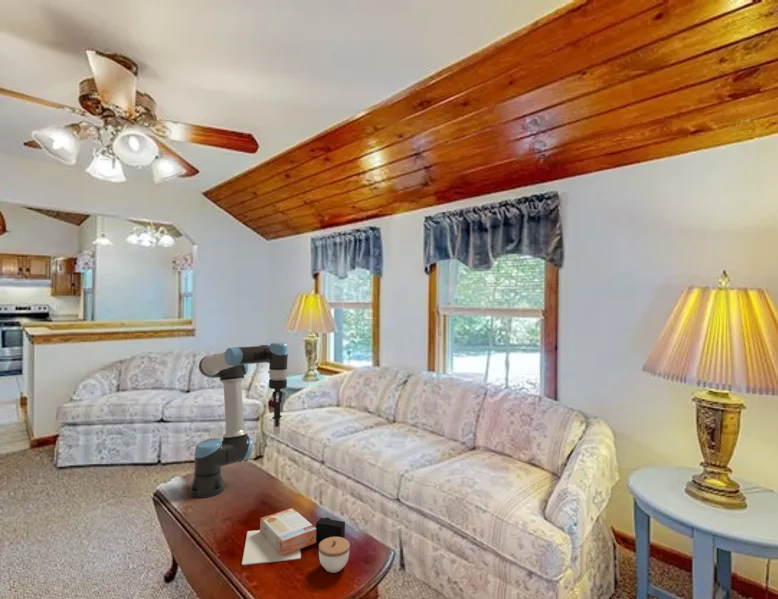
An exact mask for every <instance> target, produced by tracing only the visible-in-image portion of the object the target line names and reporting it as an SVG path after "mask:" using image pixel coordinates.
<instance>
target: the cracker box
mask: <svg viewBox="0 0 778 599" xmlns="http://www.w3.org/2000/svg"><path fill="white" fill-rule="evenodd" d="M259 530H260V532H261V533H262V534H263V535H264V537H265V538H266V539H267V540H268V541H269V542H270V543H271V544H272V545H273V546H274V547H275V549H276V550H277V551H278V552H279V553H280V554H281V555H282V556H284V555H286V554H289V553H291V552H294V551H296V550H299V549H300V550H301V549H303V548H306V547H310V546H311V545H314V544H317V541H316V526H314V525H313V524H312V523H311V522H309V521H308V520H307V519H306V518H305V517H303V515H302V514H300V513H299V512H298V511H297V510H296V509H294V508H293V507H290V508H288V509H287V508H286V509H285V510H280V511H278V512H276V513H272V514H269V515H265V516H262V517H260V518H259Z"/></svg>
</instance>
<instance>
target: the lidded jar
mask: <svg viewBox="0 0 778 599" xmlns="http://www.w3.org/2000/svg"><path fill="white" fill-rule="evenodd" d="M350 547H351V544H350V542H349V540H347V539H346V538H342V537H329V538H326V539H324V540H322V541H321V542H320V541H319V544H318V558H319V563H320V565H321V566H322V567H323V569H325V571H326V572H329V573H332V574H333V573H334V574H335V573H338V572H340V571H342V570H343V568H344V567H345V566H346V564H348V561H349V556H350Z"/></svg>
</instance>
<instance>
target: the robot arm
mask: <svg viewBox="0 0 778 599" xmlns="http://www.w3.org/2000/svg"><path fill="white" fill-rule="evenodd" d="M288 355H289V351H288V343H286V342H272V343H270V344H269V345H268V344H261V345H254V346H235V347H234V346H233V347H228V348H226V350H225V351H224V352H221V353H215V354H210V355H209V354H208V355H206V356H203V357H202V358H201V360H200V361H199V363H198V371H199V372H200V373H201V374H202V375H203V376H205V377H206V378H210V379H216V378H219V382H221V383H222V384H223V401H224V418H225V419H224V420H225V422H224V423H225V433H224V434H223V436H222V440H221V439H220V438H215V437H214V438H208V439H204V440H202V441H201V442H199V443H198V444H196V446H195V449H194V455H193V456H194V475H193V479H192V482H191V484H190V487H189V495H190V496H191V497H193V498H203V499H204V498H209V497H211V498H212V497H214V496H216V495H217V496H218V495H219V494H221V493H223V492H224V490H225V482H224V480H223V476H222V473H221V471H222V466H223V467H224V466H227V465H231V464H236V463H241V462H243V461H247V460H248V459H250V457H251V455H252V453H253V449H254V448H253V447H254V445H253V444H254V443H253V440H252V437H251V436H250V435H248V431H246V430H245V425H244V409H243V408H244V407H243V406H244V405H243V391H242V390H243V389H242V386H243V385H242V381H244V380H245V375H247V374H248V371H249V364H250V365H251V364H252V365H253V364H264V363H267V364H269V365H268V366H269V368H268V369H269V370H268V371H267V374H269V375H268V377H269V380H268V387H269V389H271V390H274V391H273V392H272V397H273V400H272V401H273V402H272V403H273V404H274V406H273V417H272V418H271V419H272V420H273V435H276V434H277V435H278V434H281V418H282V417H283V415H281V403H282V400H283V399H282V397H283V391H281V389H283V390H284V389H286V388H287V384H288V380H287V378H288V357H289V356H288Z"/></svg>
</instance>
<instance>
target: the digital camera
mask: <svg viewBox="0 0 778 599" xmlns="http://www.w3.org/2000/svg"><path fill="white" fill-rule="evenodd" d="M315 528H316V542H319V543H320V542H321V541H322V540H324V539H326V538H329V537H342V538H345V534H346V532H345V531H346V522H345V521H344V520H343V521H342V520H336V519H331V518H330V517H320V518H319V519H318V520H317V521H316V523H315ZM345 539H346V538H345Z"/></svg>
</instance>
